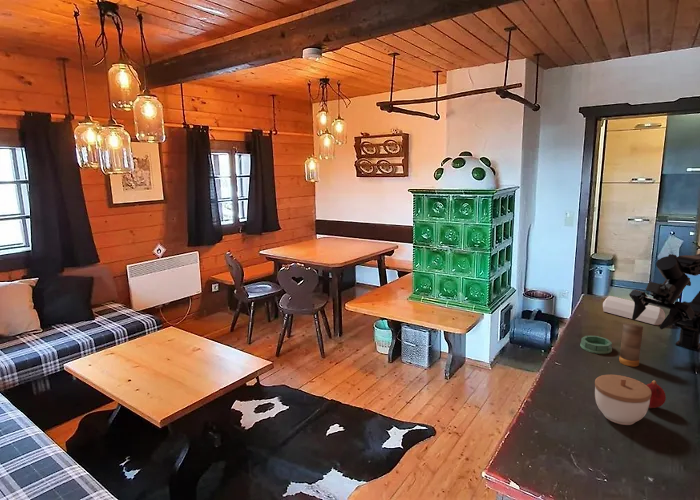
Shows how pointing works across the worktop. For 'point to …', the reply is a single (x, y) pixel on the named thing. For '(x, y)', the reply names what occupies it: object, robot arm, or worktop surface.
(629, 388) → the lidded bowl
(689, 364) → the worktop surface
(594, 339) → the socket
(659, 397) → the onion
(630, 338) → the sleeve
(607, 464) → the worktop surface
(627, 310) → the pale pink faceted bar
